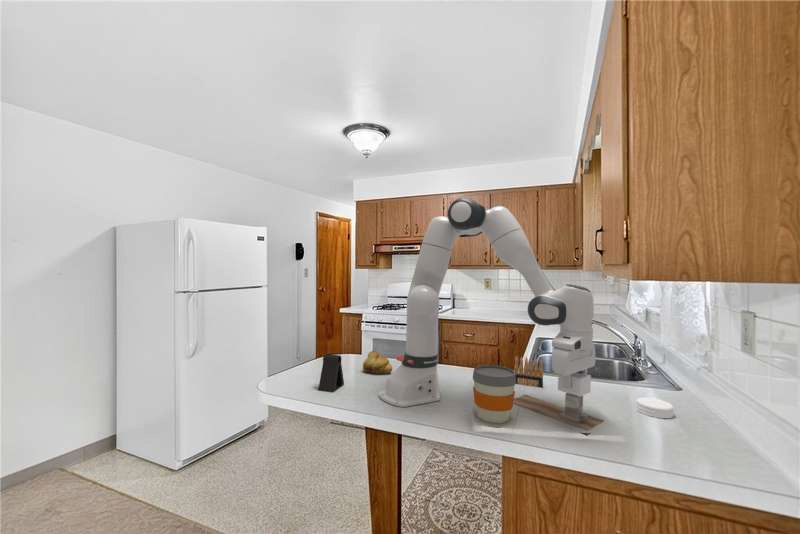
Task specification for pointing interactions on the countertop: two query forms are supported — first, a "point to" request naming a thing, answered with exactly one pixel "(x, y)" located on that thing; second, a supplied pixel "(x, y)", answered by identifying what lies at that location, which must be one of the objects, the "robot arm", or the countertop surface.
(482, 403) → the reusable coffee cup
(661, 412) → the coaster
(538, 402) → the brown flat wooden board
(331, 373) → the black tent stand
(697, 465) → the countertop surface
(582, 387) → the white block
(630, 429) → the countertop surface
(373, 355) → the bread roll
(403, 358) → the robot arm
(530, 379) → the ammunition clip
